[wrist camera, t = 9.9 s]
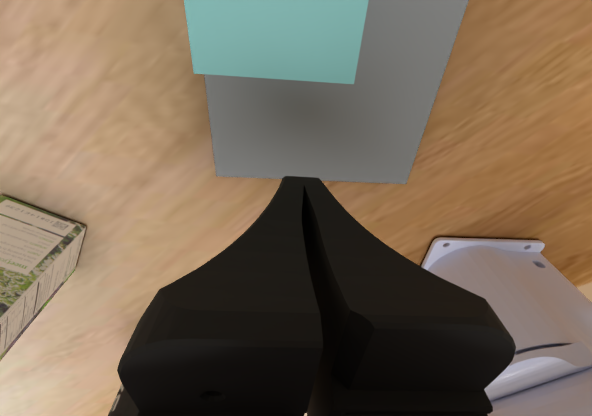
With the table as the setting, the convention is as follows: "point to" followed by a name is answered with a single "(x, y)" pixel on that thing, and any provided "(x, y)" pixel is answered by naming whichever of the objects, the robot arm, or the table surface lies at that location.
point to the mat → (341, 104)
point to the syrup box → (32, 263)
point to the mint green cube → (277, 38)
